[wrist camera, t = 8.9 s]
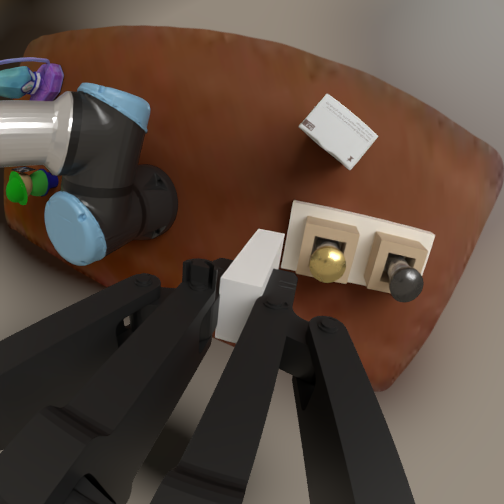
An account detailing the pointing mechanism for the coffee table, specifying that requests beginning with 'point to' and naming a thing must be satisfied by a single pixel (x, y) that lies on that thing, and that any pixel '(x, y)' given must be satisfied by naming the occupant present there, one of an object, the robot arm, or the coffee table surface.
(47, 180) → the toy
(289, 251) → the socket board
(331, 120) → the skincare box
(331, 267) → the plug brass
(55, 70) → the lantern
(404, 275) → the plug black
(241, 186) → the coffee table surface
